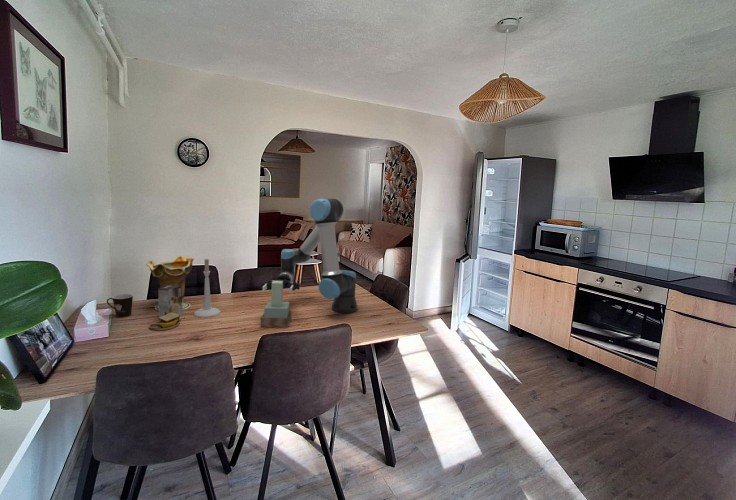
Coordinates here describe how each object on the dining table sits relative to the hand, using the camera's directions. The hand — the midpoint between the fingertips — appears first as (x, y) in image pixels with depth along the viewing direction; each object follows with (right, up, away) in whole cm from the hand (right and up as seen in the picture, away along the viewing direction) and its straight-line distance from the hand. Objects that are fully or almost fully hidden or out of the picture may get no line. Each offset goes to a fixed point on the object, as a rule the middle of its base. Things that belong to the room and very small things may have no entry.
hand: (277, 290), depth 180 cm
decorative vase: (-63, -11, +20) cm, 67 cm away
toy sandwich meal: (-52, -17, -8) cm, 55 cm away
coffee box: (-55, -14, +3) cm, 57 cm away
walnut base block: (-1, -17, +4) cm, 18 cm away
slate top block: (-1, -13, +3) cm, 13 cm away
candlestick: (-40, -14, +12) cm, 44 cm away
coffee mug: (-80, -13, +3) cm, 81 cm away
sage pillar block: (-1, -8, +3) cm, 8 cm away
